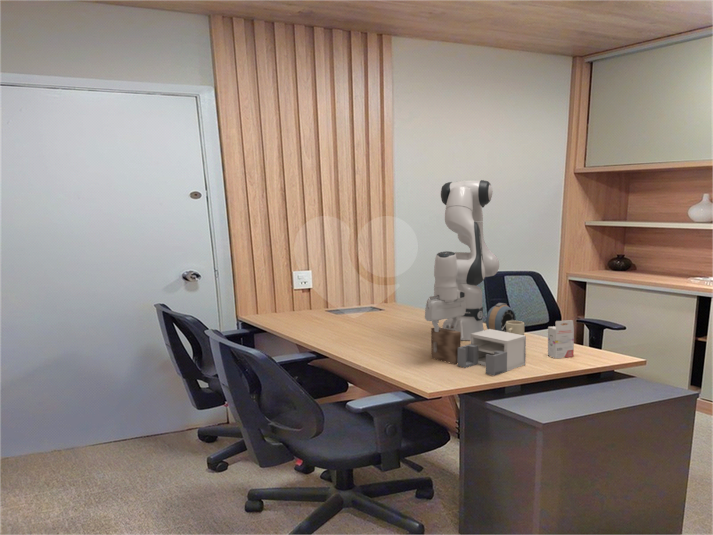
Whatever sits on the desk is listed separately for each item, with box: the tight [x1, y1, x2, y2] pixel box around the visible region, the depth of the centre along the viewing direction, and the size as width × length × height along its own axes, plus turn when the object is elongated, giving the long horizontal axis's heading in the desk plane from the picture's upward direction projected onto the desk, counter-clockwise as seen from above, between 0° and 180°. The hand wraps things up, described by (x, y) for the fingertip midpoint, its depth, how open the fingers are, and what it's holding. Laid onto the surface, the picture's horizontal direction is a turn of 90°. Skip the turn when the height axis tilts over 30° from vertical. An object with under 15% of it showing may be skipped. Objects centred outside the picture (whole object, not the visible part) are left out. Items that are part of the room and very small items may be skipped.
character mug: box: [506, 320, 525, 335], centre depth 204 cm, size 11×7×13 cm, turn 138°
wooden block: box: [430, 327, 462, 365], centre depth 197 cm, size 12×4×12 cm, turn 40°
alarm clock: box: [485, 302, 517, 332], centre depth 222 cm, size 14×10×18 cm
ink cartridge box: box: [547, 319, 575, 359], centre depth 200 cm, size 9×5×15 cm, turn 105°
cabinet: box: [457, 328, 527, 377], centre depth 189 cm, size 16×20×11 cm
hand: (445, 329), depth 196 cm, fingers open, 8 cm apart
